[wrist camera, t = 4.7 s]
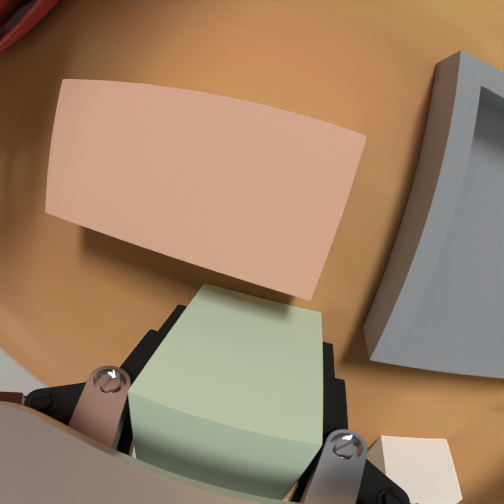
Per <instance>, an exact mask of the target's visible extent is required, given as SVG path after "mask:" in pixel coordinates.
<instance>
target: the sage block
mask: <svg viewBox="0 0 504 504" xmlns="http://www.w3.org/2000/svg"><path fill="white" fill-rule="evenodd" d="M128 398H129V407H130V416H131V424H132V432H133V439H134V445H135V451H136V458H137V459H138V460H140V461H143V462H145V463H148V464H150V465H153V466H155V467H158V468H161V469H163V470H166V471H169V472H172V473H175V474H178V475H181V476H184V477H187V478H190V479H193V480H196V481H200V482H203V483H206V484H210V485H214V486H217V487H221V488H225V489H229V490H233V491H237V492H241V493H246V494H250V495H255V496H260V497H265V498H271V499H276V500H283V499H284V498H285V496H286V495H287V494H288V492H289V491H290V490H291V489H292V487H293V486H294V485H295V483H296V482H297V481H298V479H299V478H300V476H301V475H302V474H303V472H304V471H305V470H306V468H307V467H308V465H309V464H310V462H311V461H312V460H313V458H314V457H315V455H316V454H317V452H318V451H319V449H320V448H321V446H322V435H323V344H322V313H321V312H316V311H312V310H308V309H304V308H300V307H296V306H292V305H287V304H283V303H279V302H275V301H271V300H268V299H264V298H260V297H256V296H252V295H248V294H244V293H240V292H237V291H233V290H229V289H225V288H222V287H218V286H214V285H211V284H207V283H204V284H203V285H202V287H201V288H200V290H199V291H198V292H197V294H196V295H195V297H194V298H193V299H192V301H191V302H190V303H189V305H188V306H187V308H186V309H185V310H184V312H183V313H182V315H181V316H180V317H179V319H178V320H177V322H176V323H175V324H174V326H173V327H172V329H171V330H170V331H169V333H168V334H167V336H166V337H165V339H164V340H163V341H162V343H161V344H160V346H159V347H158V348H157V350H156V351H155V353H154V354H153V356H152V357H151V358H150V360H149V361H148V363H147V364H146V366H145V367H144V368H143V370H142V371H141V373H140V374H139V376H138V377H137V378H136V380H135V381H134V383H133V384H132V386H131V387H130V389H129V390H128Z"/></svg>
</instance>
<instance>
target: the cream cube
mask: <svg viewBox="0 0 504 504" xmlns="http://www.w3.org/2000/svg"><path fill="white" fill-rule="evenodd" d="M366 459H368V460H369V461H370V462H371V463H372V464H373V465H374V466H376V467H377V468H378V469H379V470H380V471H381V472H383V473H384V474H385V475H386V476H387V477H389V478H390V479H391V480H392V481H393V482H394V483H396V484H397V485H398V486H399V487H401V488H402V489H403V490H404V491H405V492H406V493H407V495H408V497H409V499H410V503H411V504H415V503H418V504H457V503H458V502H459V501H461V500H462V495H461V491H460V487H459V483H458V479H457V475H456V471H455V468H454V464H453V460H452V457H451V453H450V450H449V447H448V443H447V440H446V439H427V438H406V437H392V436H380V437H379V439H378V440H377V441H376V442H375V444H374V445H373V446H372V447H371V448H370V450H369V451H368V452H367V456H366Z"/></svg>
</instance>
